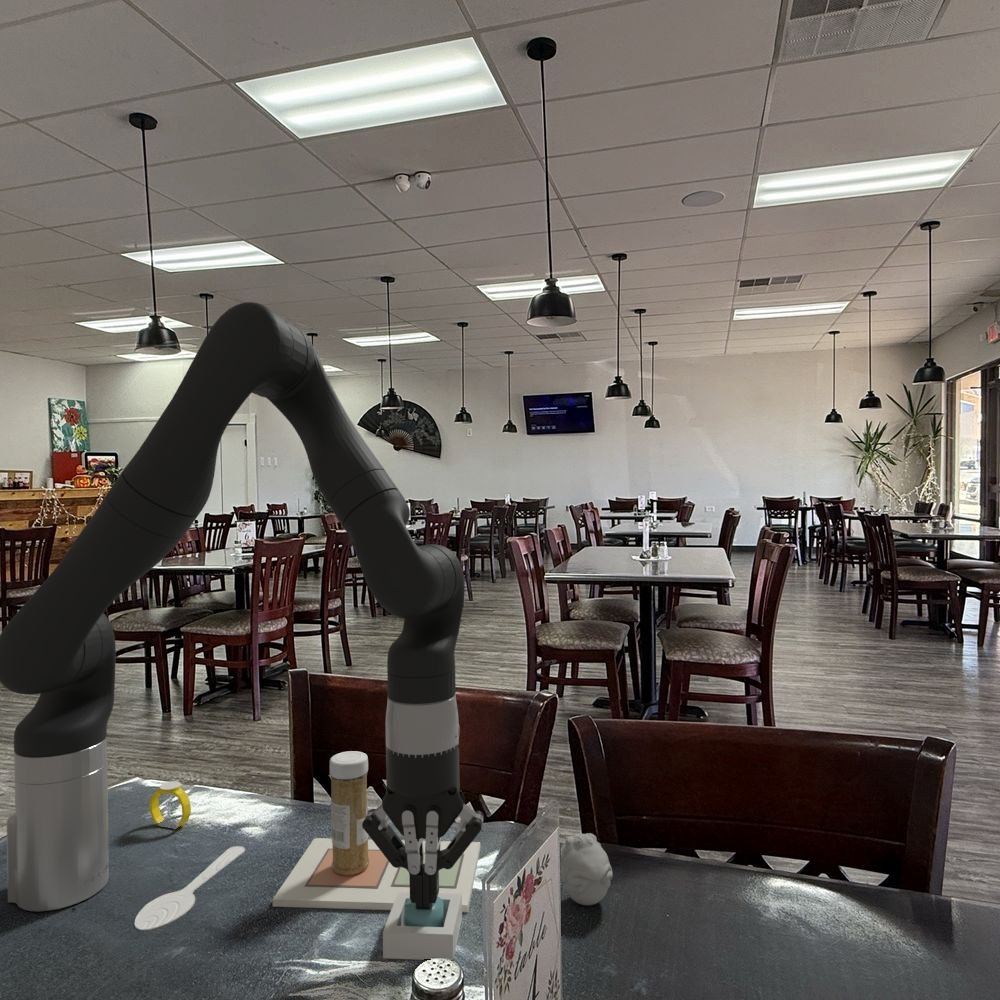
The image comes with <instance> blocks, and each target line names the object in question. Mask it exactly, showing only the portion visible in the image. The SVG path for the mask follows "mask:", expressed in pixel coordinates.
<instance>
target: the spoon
mask: <svg viewBox="0 0 1000 1000" xmlns="http://www.w3.org/2000/svg"><path fill="white" fill-rule="evenodd" d="M245 851H246V848H245V846H243V845H242V846H241V845H235V846H231V847H228V849H226V850H225V851H224V853H222V854H221V855H219V857H217V858H216V859H215V860H214V861H212V863H211V864H209V865H208V866H207V867H206V868H205V870H204V871H201V873H199V875H198V876H196V877H195V878H194V879H192V881H191V882H189V883H188V884H187V885H186V886H185V887H184V888H181V889H179V890H176V891H172V892H170V893H169V892H168V893H165V894H162V895H160V896H158V897H156V898H155V899H152V900H150V901H149V902H148V903H147V904H145V905H144V906H143V907H142V908H140V910H139V912H137V914H136V917H135V919H134V927H135V928H136V929H137V930H139V931H150V930H155V929H158V928H160V927H164V926H166V925H168V924H170V923H172V922H174V921H177V919H179V918H181V917H182V916H184V915H185V914H187V913H188V912H189V911H190V910H191V909H192V908H193V907H194V905H195V902H196V896H195V894H194V892H195V891H196V890H197V889H198V888H199V887H201V886H202V885H203V884H204V883H206V882H207V881H209V880H211V878H213V877H214V876H216V875H217V874H218V873H219V872H220V871H222V870H223V869H224V868H225V867H227V866H228V865H229V864H230V863H232V862H233V861H235V860H236V859H237V858H239V856H241V855H242V854H244V853H245Z"/></svg>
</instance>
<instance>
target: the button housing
mask: <svg viewBox="0 0 1000 1000" xmlns="http://www.w3.org/2000/svg"><path fill="white" fill-rule="evenodd" d="M438 897H440V898H441V899H442V901H443V916H444V926H443V927H419V926H405V903H406V902H407V901H408V900H409V899H410V892H398V894H397V896H396V899H395V902H394V904H393V907H392V910H390V912H389V915H388V917H387V921H386V923H385V924H384V925H385V926H384V929H383V931H382V958H383V959H390V960H392V959H393V960H394V959H395V960H416V961H418V960H423V961H425V960H424V959H428V958H432V957H444V958H450V959H455V955H456V949H457V945H458V941H459V940H458V939H459V936H460V935H459V934H460V930H461V925H462V921H463V912H462V894H444V893H438Z"/></svg>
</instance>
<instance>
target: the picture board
mask: <svg viewBox="0 0 1000 1000" xmlns="http://www.w3.org/2000/svg"><path fill="white" fill-rule="evenodd" d="M400 840H401V841H402V842H403V843H404V845H405V840H404V839H400ZM451 841H452V840H451ZM451 841H450V840H449V841H448V840H443V841H442V840H441V848H440V851H441V850H444V849H446V848H447V846H448V845H449V844H450V843H451ZM425 842H426V840H423V849H424V860H423V864H425ZM480 853H481V842H480V841H472V842H471V844H470V845H469V846H468V848H467V849H466V850H465V851H464V853H463V854H462V855H461V857H460V858H459V859H458V860H457V862H456V863H455V864H454V866H453V867H452V868H451V869H445V868H443V869H440V870H439V893H444V894H462V913H468V912H469V909H470V908H469V907H470V905H471V904H470V903H471V898H472V892H473V889H474V888H473V887H474V882H475V878H476V872H477V868H478V864H479V863H478V862H479V857H480ZM368 857H369V865H368V867H367V868H366V869H365V870H363V871H362V872H360V873H357V874H354V875H341V874H338V873H336V872H334V871H333V869H332V862H333V844H332V838H323V837H322V838H320V837H319V838H318V837H316V838H314V839H312V841H311V843H310V844H309V846H308V847H307V849H306V850H305V852H304V853H303V854H302V856H301V857H300V859H299V860H298V861H297V862H296V864H295V866H294V867H293V869H292V870H291V872H290V873H289V875H288V876H287V878H286V879H285V880H284V882H283V884H282V885H281V887H280V888H279V889H278V891H277V892H276V894H275V895H274V897H273V898H272V907H276V908H277V907H280V908H282V907H283V908H306V909H308V908H309V909H311V908H313V909H314V908H315V909H337V910H338V909H342V910H343V909H345V910H373V911H375V910H376V911H377V910H379V911H391V910H392V907H393V904H394V902H395V899H396V896H397V894H398V892H410V880H409V872H408V870H407V869H405V868H403V867H399V868H395V867H393V866H392V865H391V863H390V862H389V861H388V859H387V858H386V857H385V856H384V854H383V853H382V852H381V850H380V849H379V848H378V847H377V845H376V844H375V843H374V841H373V840H372V839H371V838H368Z"/></svg>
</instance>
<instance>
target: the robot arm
mask: <svg viewBox="0 0 1000 1000" xmlns="http://www.w3.org/2000/svg"><path fill="white" fill-rule="evenodd" d="M187 369H188V370H187V371H186V373H185V375H184V377H183V378H182V380H181V382H180V384H179V386H178V388H177V389H176V391H175V393H174V394H173V396H172V398H171V399H170V401H169V403H168V404H167V406H166V407H165V409H164V410H163V412H162V413H161V415H160V417H159V418H158V420H157V421H156V423H155V424H154V426H153V427H152V429H151V431H150V432H149V433H148V435H147V437H146V438H145V439H144V440H143V442H142V444H141V446H140V447H139V449H138V450H137V451H136V453H135V454H134V455H133V456H132V458H131V459H130V461H129V462H128V463H127V464H126V466H125V467H124V469H122V471H121V473H120V474H119V475H118V477H117V479H116V480H115V481H114V483H113V484H112V486H111V487H110V489H109V490H108V492H107V493H106V494H105V496H104V498H103V499H102V500H101V502H100V504H99V506H98V508H97V509H96V510H95V512H94V514H93V515H92V516H91V517H90V519H89V520H88V522H87V523H86V524H85V526H84V528H83V529H82V530H81V532H80V533H79V534H78V535H77V537H76V538H75V540H74V541H73V543H72V544H71V545H70V547H69V548H68V550H67V551H66V553H65V554H64V556H63V557H62V559H61V560H60V561H59V563H58V564H57V566H56V567H55V568H54V570H53V571H52V572H51V573H50V574H49V575H48V577H47V578H46V579H45V580H44V582H43V583H41V585H40V586H39V587H38V588H37V590H36V591H35V592H34V593H33V594H32V595H31V596H30V597H29V599H28V600H27V601H26V602H25V603H24V604H23V605H22V607H20V609H19V610H18V611H17V612H16V613H15V614H14V616H13V617H12V618H11V619H10V620H9V622H8V623H7V624H6V625H5V626H4V628H3V630H2V631H1V633H0V684H1V685H3V687H4V688H6V689H8V691H10V692H13V693H16V694H19V695H26V696H27V695H30V696H31V695H39V696H38V699H37V701H36V702H35V704H34V706H33V707H32V708H31V710H30V711H29V712H28V713H27V714H26V715H25V717H23V718H22V719H21V721H19V723H18V724H17V726H16V728H15V729H14V732H13V760H14V761H13V762H14V766H13V767H14V768H13V770H14V814H12V815H11V816H9V817H8V818H7V820H6V855H7V856H6V865H7V866H6V867H7V869H6V870H7V877H6V878H7V879H6V880H7V903H12V904H13V903H14V904H16V905H17V906H18V907H19V908H20V909H22V910H24V911H27V912H28V911H29V912H45V911H47V912H48V911H54V910H60V909H63V908H66V907H71V906H72V905H75V904H79V903H80V902H81V903H82V901H85V900H87V899H90V898H91V897H92V896H94V895H96V894H97V893H98V892H100V891H101V890H102V889H104V887H105V886H106V885H107V884H108V882H109V877H110V869H109V866H110V861H109V805H108V804H109V802H108V801H109V799H108V798H109V797H108V792H109V791H108V790H109V789H108V788H109V787H108V785H109V784H108V742H107V739H108V737H107V732H108V731H107V728H108V721H109V719H110V716H111V715H112V712H113V708H114V705H115V689H116V688H115V687H116V686H115V685H116V662H117V661H116V658H117V653H116V652H117V651H116V650H117V648H116V637H115V633H114V630H113V627H112V623H111V621H110V620H109V618H108V617H107V615H106V614H105V612H106V610H107V609H108V608H109V607H110V606H111V605H112V604H113V602H114V601H115V600H116V599H118V597H119V596H120V595H122V594H123V593H124V592H125V591H126V590H128V588H130V587H132V585H134V584H135V583H136V582H137V581H138V580H140V579H141V578H142V577H144V576H145V575H146V574H147V573H149V572H150V571H151V570H152V569H153V568H155V566H156V565H157V564H159V563H160V562H161V561H162V560H163V559H164V558H165V557H167V555H169V554H170V552H172V551H173V550H174V549H175V547H176V546H177V545H178V544H179V543H180V541H181V540H182V539H183V538H184V536H185V535H186V533H187V532H188V531H189V529H190V528H191V526H192V525H193V523H194V522H195V521H196V519H197V518H198V516H199V515H200V514H201V512H202V511H203V510H204V508H205V506H206V504H207V503H208V500H209V498H210V495H211V492H212V489H213V484H214V478H215V471H216V465H217V457H218V450H219V447H220V446H219V445H220V442H221V440H222V438H223V434H224V433H225V431H226V429H227V427H228V426H229V423H230V422H231V421H232V419H233V418H234V416H235V415H236V413H237V412H238V411H239V409H240V408H241V406H242V405H243V403H245V401H246V400H247V399H248V397H249V396H251V394H254V395H257V396H259V397H261V398H265V399H267V400H268V401H269V402H270V403H271V404H272V405H273V406H274V407H275V408H276V409H277V410H278V411H279V412H280V413H281V414H282V416H284V417H285V419H286V420H287V421H288V422H289V423H290V425H292V427H293V429H294V430H295V433H297V435H298V437H299V439H300V441H301V443H302V445H303V447H304V450H305V453H306V455H307V459H308V463H309V466H310V471H311V474H312V475H313V478H314V481H315V483H316V486H317V487H318V490H319V492H320V494H321V495H322V497H323V498H324V500H325V501H326V503H327V505H328V506H329V508H330V509H331V511H332V512H333V514H334V515H335V516H336V518H337V520H338V521H339V523H340V524H341V527H343V529H344V530H345V531H346V533H347V534H348V535H349V538H350V539H351V541H352V545H353V548H354V553H355V555H356V558H357V560H358V563H359V566H360V568H361V572H362V575H363V577H364V579H365V582H366V585H367V587H368V589H369V591H370V593H371V594H372V596H373V598H374V599H375V600H376V602H377V603H378V604H379V605H380V606H381V607H382V608H383V609H384V610H385V611H387V612H388V613H389V614H391V615H393V616H395V617H398V618H400V619H404V620H403V627H402V631H401V633H400V635H399V636H398V637H397V638H396V639H395V640H394V641H393V642H392V643H391V645H390V646H389V648H388V652H387V661H386V663H387V664H386V667H387V671H386V672H387V705H386V712H385V766H386V767H385V768H386V769H385V770H386V771H385V774H386V775H385V776H386V778H385V779H386V781H385V782H386V791H385V794H384V795H383V798H382V801H381V805H379V806H378V807H377V808H372V809H370V810H368V814H367V816H366V818H365V819H364V821H363V823H362V827H363V829H364V830H365V831H366V832H367V834H368V837H369V839H372V840H373V841H374V843H375V844H376V845H377V847H378V848H379V849H380V850H381V852H382V853H383V854H384V856H385V857H386V858H387V859H388V861H389V862H390V863H391V865H392V866H393V867H395V868H399V867H403V868H405V869H407V870H408V872H409V880H410V900H411V902H412V903H416V909H431V905H432V903H435V902H436V900H437V897H438V893H439V870H440V869H443V868H445V869H451V868H452V867H453V866H454V864H455V863H456V862H457V860H458V859H459V858H460V857H461V855H462V854H463V853H464V851H465V850H466V849H467V848H468V846H469V845H470V844H471V842H474V841H475V838H476V837H477V836H479V835H478V834H479V833H481V831H482V828H483V824H484V818H485V815H484V813H483V812H482V811H480V810H476V811H475V810H473V809H472V808H471V807H469V806H468V805H467V804H465V801H466V800H465V795H464V794H463V792H462V790H461V787H460V740H459V739H460V738H459V737H460V734H461V732H460V731H461V729H460V724H459V722H460V721H459V711H458V704H457V696H456V693H457V692H456V690H457V689H456V658H455V655H456V654H455V651H456V645H457V641H458V637H459V633H460V628H461V623H462V622H461V620H462V615H463V608H464V602H465V588H466V587H465V585H466V584H465V583H466V582H465V576H464V572H463V567H462V564H461V562H460V560H459V558H458V557H457V555H456V554H455V553H454V552H453V551H452V550H451V549H449V548H447V547H446V546H444V545H440V544H435V543H434V544H433V543H432V544H423V545H417V544H416V543H415V541H414V540H413V538H412V535H411V534H410V532H409V530H408V527H407V526H406V525H407V523H408V521H409V520H410V515H411V512H410V507H409V504H408V502H407V501H406V499H405V497H404V496H403V494H402V492H401V491H400V490H399V489H398V486H396V484H395V482H394V481H393V480H392V478H391V477H390V475H389V474H388V472H387V471H386V469H385V468H384V467H383V466H382V464H381V463H380V461H379V459H377V457H376V456H375V454H374V453H373V451H372V450H371V449H370V447H369V446H368V444H367V443H366V441H365V440H364V438H363V437H362V435H361V434H360V433H359V431H358V429H357V428H356V427H355V425H354V423H353V422H352V420H351V418H350V417H349V415H348V413H347V412H346V410H345V408H344V406H343V405H342V403H341V401H340V399H339V397H338V395H337V393H336V391H335V390H334V388H333V385H332V383H331V382H330V379H329V377H328V374H327V372H326V370H325V368H324V366H323V364H322V361H321V360H320V357H319V355H318V353H317V351H316V349H315V347H314V345H313V343H312V341H311V339H310V338H309V336H308V335H307V334H306V333H305V331H303V330H302V328H300V327H298V326H297V325H296V324H294V323H293V322H291V321H290V320H288V319H287V318H285V317H283V316H282V315H281V314H279V313H277V312H275V311H274V310H273V309H271V308H269V307H268V306H266V305H263V304H262V303H258V302H255V301H249V302H248V301H247V302H241V303H238V304H235V305H234V306H232V307H230V308H229V309H227V310H226V311H225V312H224V313H223V314H221V315H220V316H219V318H218V319H217V320H216V321H215V322H214V324H213V325H212V327H210V330H209V331H208V333H207V335H206V336H205V338H204V340H203V341H202V343H201V345H200V346H199V348H198V350H197V352H196V354H195V356H194V358H193V359H192V361H191V363H190V365H189V367H188V368H187ZM458 817H459V818H460V820H459V823H458V829H459V831H458V832H457V833H456V835H455V836H454V838H453V839H452V840H451V843H450V844H449V845H448V846H447V848H446V849H444V850H441V851H440V848H441V841H442V838H443V837H444V836H445V835H446V834H447V833H448V831H449V830H450V828H451V827H452V825H454V823H455V821H456V820H457V818H458ZM390 821H391V822H392V824H393V825H394V827H395V828H396V829H397V831H398V832H399V833H400V834H401V836H403V837H404V838H403V840H405V845H404V843H403V842H402V841H401V840H402V839H401V838H400V837H399V835H397V832H395V831H394V829H393V828H392V827H391V825H390ZM424 840H425V841H426V842H425V864H423V860H424V849H423V841H424Z"/></svg>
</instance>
